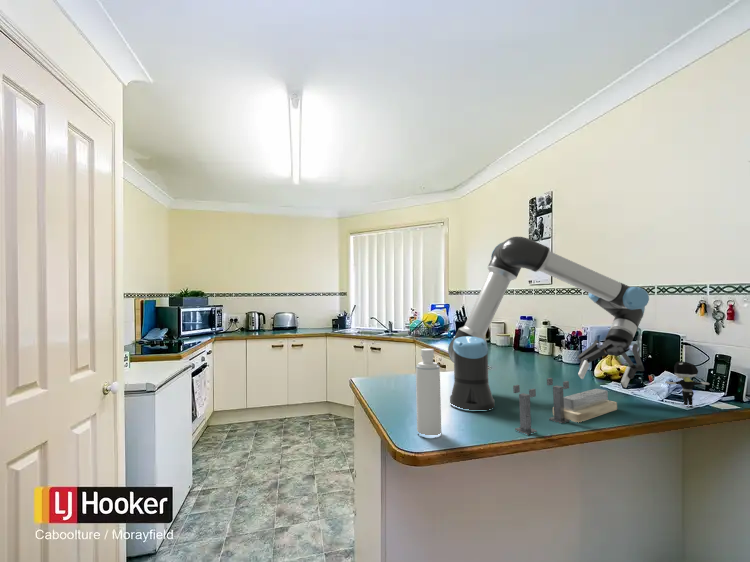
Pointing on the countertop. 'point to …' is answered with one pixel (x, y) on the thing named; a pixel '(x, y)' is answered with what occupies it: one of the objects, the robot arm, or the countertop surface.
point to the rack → (525, 406)
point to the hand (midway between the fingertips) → (600, 380)
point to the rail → (585, 399)
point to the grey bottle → (428, 394)
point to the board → (590, 411)
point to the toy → (686, 379)
